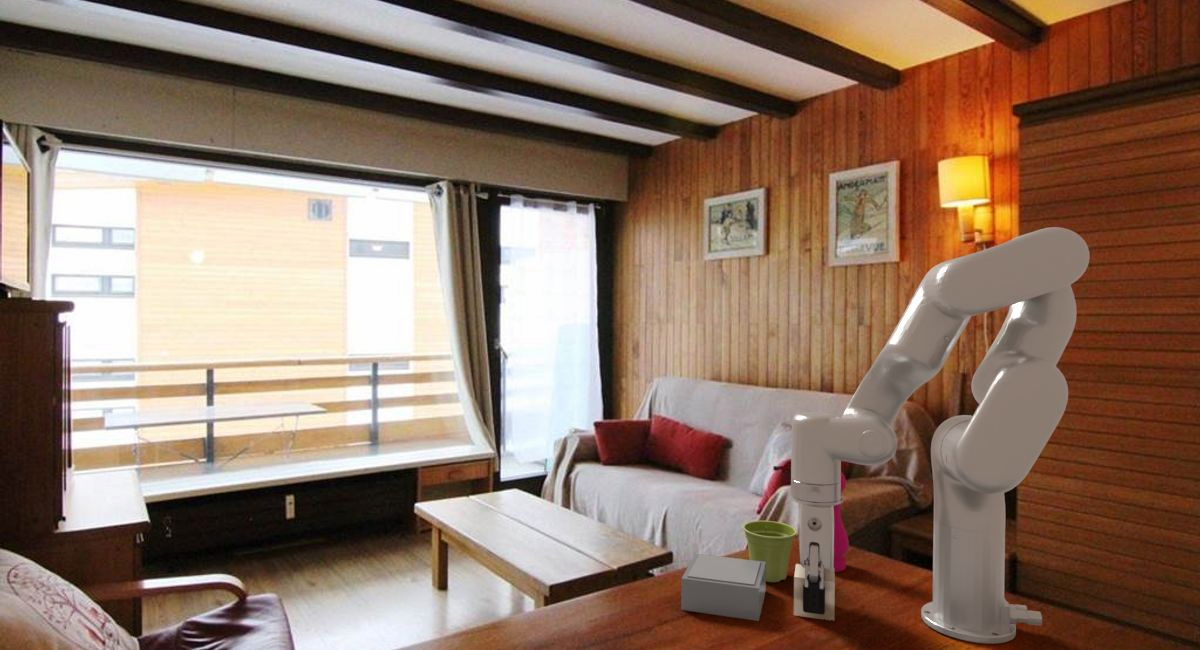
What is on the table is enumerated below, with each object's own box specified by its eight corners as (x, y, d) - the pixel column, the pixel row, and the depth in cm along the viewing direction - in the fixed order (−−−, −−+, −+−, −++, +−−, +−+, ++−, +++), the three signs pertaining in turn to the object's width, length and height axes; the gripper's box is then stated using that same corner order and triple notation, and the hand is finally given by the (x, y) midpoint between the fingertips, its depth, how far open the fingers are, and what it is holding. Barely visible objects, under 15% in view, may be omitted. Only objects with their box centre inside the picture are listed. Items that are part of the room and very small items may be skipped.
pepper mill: (821, 556, 133) (822, 453, 132) (856, 567, 127) (857, 460, 127) (800, 564, 128) (801, 458, 128) (834, 576, 122) (835, 465, 122)
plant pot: (791, 568, 126) (791, 521, 126) (800, 588, 117) (801, 537, 117) (739, 565, 127) (740, 519, 127) (745, 585, 118) (745, 535, 118)
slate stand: (765, 591, 116) (765, 560, 115) (758, 620, 104) (758, 587, 104) (695, 581, 119) (695, 552, 119) (681, 609, 108) (681, 577, 108)
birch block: (834, 605, 110) (834, 568, 110) (834, 620, 104) (834, 581, 104) (795, 600, 112) (795, 563, 112) (793, 615, 106) (794, 576, 106)
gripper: (841, 507, 99) (840, 631, 99) (839, 480, 115) (838, 586, 115) (787, 502, 101) (786, 623, 101) (793, 476, 117) (792, 581, 118)
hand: (814, 602), depth 108 cm, fingers closed on birch block, 6 cm apart
